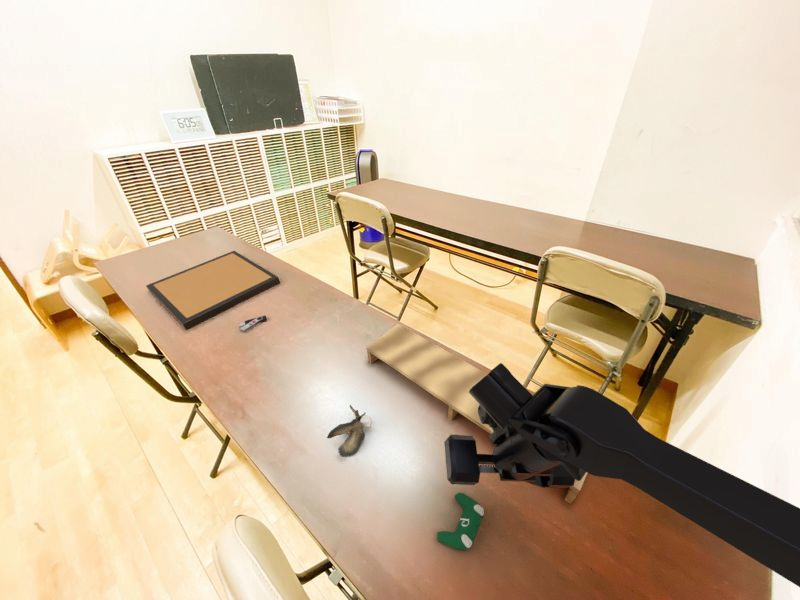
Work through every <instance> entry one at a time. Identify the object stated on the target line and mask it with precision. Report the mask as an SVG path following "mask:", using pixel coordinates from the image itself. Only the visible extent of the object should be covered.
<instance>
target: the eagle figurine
mask: <svg viewBox="0 0 800 600" xmlns="http://www.w3.org/2000/svg"><path fill="white" fill-rule="evenodd" d="M349 409H350V410H351V411H352V413H353V414H354V416H355V417H354V418H353V419H352V420H350V421H349V422H345V423H340V424H338V425H336V426H335V427H334V428H332V429H331V430H330V431H329V432H328V434H327V436H326V439H332V438H334V437H338V436H342V435H345V434H348V436H347V437H346V439H345V440H344V442H342V444H340V446H339V447H338V448H337V450H338V454H339V456H340V457H341V458H344V457H345V458H347V457H351V456H354V455H356V453H357V452H358V451H359V448H360V447H361V445H362V443H363V442H364V441H365V436H366V434H365V431H364V428H370V427H371V426H372V423H373V420H372V417H371V416H369V415H367V414H366V413H367V412H364V413H363V414H361V415H360V413H359V410H358V409H355V408H354V407H353V406H352V404H349Z"/></svg>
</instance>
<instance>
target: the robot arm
mask: <svg viewBox="0 0 800 600" xmlns="http://www.w3.org/2000/svg"><path fill="white" fill-rule="evenodd" d="M487 374H488V375H486V376H485V377H484V378H483V379H482V380H480V381H479V382H478V383H477V384H475V385H474V386H473V387H472V388H471V389H470V391H469V393H470V394H471V395H472V397H473V398H474V399H475V400H476V401H477V402H478V403H479V404H480V405H479V407H478V414H479V417H480V420H481V423H482V424H488V425H489V426H490V427H492V430H493V433H492V434H489V441H490V445H493V446H494V447H493V448H492V452H491V453H492V454H491V453H490V454H488V453H478V449H477V441H476V439H475V438H474V436H473V435H469V434H468V435H467V434H466V435H465V434H450V435H449V436H448V437H447V438H446V439H445V440H444V442H443V444H444V455H445V468H446V469H445V470H446V478H447V481H448V482H449V483H450V484H451V485H461V486H462V485H463V486H465V485H466V486H475V485H477V484H479V483H480V478H481V477H480V476H481V474H497V475H499V481H500V482H518V483H521V482H522V483H527V484H531V485H533V486H537V487H539V488H553V489H554V488H555V489H556V488H557V489H567V488H568V489H569V487H571V486H574V483H575V479H576V480H577V481H580V480H581V479H582V478H583V476H584V475H585V473H586V472H587V474H589V475H592V476H593V477H599V478H601V477H602V478H608V479H614V480H621V481H624V482H625V483H628V484H629V485H632V486H633V487H635V488H637V489H638V490H640V491H642V492H644V493H645V494H647V495H648V496H650V497H652V498H653V499H655V500H657V501H658V502H660V503H662V504H663V505H664V506H667V507H668V508H670V509H671V510H673V511H674V512H676V513H678V514H679V515H682V517H684V518H686V519H688V520H689V521H691V522H692V523H694V524H696V525H697V526H698V527H701V528H702V529H704V530H706V531H707V532H709V533H711V534H712V535H713V536H715V537H717V538H719V539H720V540H722V541H723V542H725V543H727V544H728V545H730V546H731V547H733V548H735V549H736V550H738V551H740V552H741V553H743V554H744V555H746V556H748V557H750V558H752V559H753V560H755V561H756V562H757V563H759V564H761V565H763V566H764V567H765V568H768V569H769V570H771V571H772V572H774V573H776V574H777V575H779V576H780V577H782V578H783V579H786V580H788V581H789V582H790V583H792V584H794V585H795V586H797V587H799V588H800V507H798V506H797V505H794V504H793V503H790V502H788V501H786V500H784V499H782V498H780V497H778V496H776V495H775V494H773V493H771V492H768V491H766V490H765V489H762V488H760V487H758V486H756V485H754V484H751V483H750V482H747V481H746V480H744V479H742V478H740V477H738V476H736V475H734V474H732V473H729V472H727V471H726V470H724V469H721V468H720V467H717V466H716V465H713V464H711V463H709V462H707V461H706V460H704V459H702V458H699V457H697V456H695V455H693V454H691V453H690V452H688V451H686V450H684V449H681V448H679V447H677V446H675V445H674V444H671V443H669V442H667V441H665V440H663V439H661V438H659V437H658V436H656V435H655V434H653V433H651V432H650V431H648V430H646V428H644V427H643V426H642V425H641V423H640V422H639V421H638V420H637V419H636V418H635V416H634V415H633V414H632V413H631V412H630V411H629V410H628V409H627V408H625V407H624V406H622V405H621V404H619V403H618V402H615V401H614V400H612V399H610V398H609V397H608V396H605V395H604V394H603V393H601V392H599V391H597V390H595V389H594V388H591V387H588V386H585V385H579V384H577V385H576V386H564V385H557V384H551V383H544V384H542V385H541V386H540V387H539V388H538V389H537V390H536V391H535V392H534V393H533V394H532V393H531V392H530V391H529V389H527V388H526V387H525V386H524V385H523V384H522V383H521V382H520V381H519V380H518V379H517V378H516V376H514V375H513V374H512V372H511V371H510V370H509V369H508V368H507V366H505V365H504V363H502V362H500V363H498V364H497V365H496V366H494V367H493V368H492V369H491V370H490V371H489V373H487Z"/></svg>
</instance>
